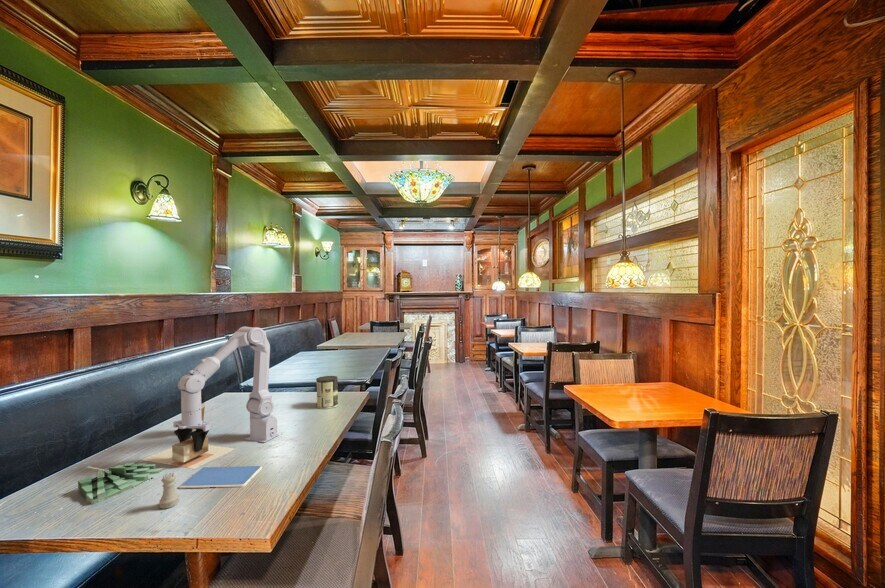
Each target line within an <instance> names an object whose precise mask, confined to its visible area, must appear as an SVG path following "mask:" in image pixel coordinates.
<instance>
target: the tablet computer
mask: <svg viewBox="0 0 885 588" xmlns="http://www.w3.org/2000/svg"><path fill="white" fill-rule="evenodd" d="M262 469H263V466H261V465H251V466H250V465H244V466H240V465H239V466H238V465H237V466H204V467H202V468H200V469H199V470H197V472H195V473H194V474H192V475H191V476H190V477H188V478H187V479H186V480H185V481H183V482H182V483H181V484H180V485H178V489H200V488H201V489H207V488H208V489H209V488H210V487H216V488H244V487H246V486H247V485H248V483H250V482H251V481H252V480H253V478H255V477H256V475H257V474H259V472H260V471H261V470H262ZM210 489H211V488H210Z"/></svg>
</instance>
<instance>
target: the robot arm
mask: <svg viewBox="0 0 885 588" xmlns="http://www.w3.org/2000/svg"><path fill="white" fill-rule="evenodd" d="M245 346H249V348H251V349H252V350H253V351H254V361H253V375H252V376H253V377H252V378H253V379H252V391H251V392H250V393H249V395H248V400H247V402H246V404H245V408H246V410H247V412H248V413H249V435H250V436H248V437H246V438H244V440H246V441H253V442H258V443H267V442H269V441H270V440H273V439H274V438H276V437H278V436H279V435H280V434H279V433H278V420H277V417H276V416H273V415H272V412H273V410H274V402H273V395H272V393H270V392H271V391H269V378H270V377H269V375H270V359H271V358H270V355H271V345H270V342H269V339H268V338H267V332H266V331H265V330H264V329H262V328H261V327H258V326H257V327H254V326H253V327H251V326H241V327H239V328H238V330H236V331H235V332H233V333H232V335H231V337H230V338H229V339H228V340H227V341H226V342H225V343H224V344H223V345H222V346H221V347H220V348H219V349H218V350H217V351H216V352H215V353H214V354H213V355H212V356H206V357H205V358H202V359H200V360H199V361H200V363H199V364H198V365H197V366H195V367H194V368H193V369H190V370H189V371H188V374H184V375H183V376H182V377H180V378H179V381H178V383H177V388H178V389H179V390H180V396H181V397H180V408H181V409H180V410H181V419H178V420H175V421H173V423H172V424H173V428H177V429H175V430H174V431H173V433H174V434H175V436H176V437H177V439H178V440H179V443H180V442H182V441H184V440H187V439H189V438H192V439H193V442H194V450H195V452H198V451H200V450H202V447H203V443H204V440H205V437H207V435H208V433H209V431H210V430H211V428H212V427H211V425H212V424H211V423H210V422H209V423H208V422H205V420H203V421H202V409H201V395H202V390H203V389H204V387H205V384H206V382H207V380H208V379H210V378H211V377H212V376H213V375H214V374H215V373H216V372H217V371H218V370H219V369H220V367H221V362H223V361H224V360H225V359H226V358H227V357H228V356H229V355H231V354H232V353H233V352H234V351H235V350H237V349H238V348H240V347H241V348H242V347H245ZM193 429H196V431H193V432H192V430H193Z"/></svg>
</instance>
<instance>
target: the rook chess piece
mask: <svg viewBox="0 0 885 588" xmlns="http://www.w3.org/2000/svg"><path fill="white" fill-rule="evenodd" d="M176 478H177V476H176V475H175V473H174V472H173V473H172V472H170V473H169V474H168V473H166V474H165V475H163V476H162V479H161V483H163V484H162V488H163V489H162V490H163V491H162V496H161V497H160V499H159V501H158V502H159V505H158V507H159V508H160V509H162V510H165V509H170V508H173V507H175V506H176V505H177V504H178V503H179V502H180V499H179V497H180V496H179V495H178V493H177V492H176V489H175V484H176V482H175V480H176Z"/></svg>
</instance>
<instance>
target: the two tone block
mask: <svg viewBox="0 0 885 588" xmlns="http://www.w3.org/2000/svg"><path fill="white" fill-rule="evenodd" d="M208 445H209V436H206V437H205V440H204V443H203V447H202V450H200V451H198V452H195V450H194V442H193V439H192V437H191V438H189V439H187V440H184V441H182V442H180V441H179V442H177V443H175V444H173V445H171V448H172V461H178V462H186V461H188V460H190V459H192V458H195V457H197V456H199V455H201V454H203V453H205V452H207V451H208Z"/></svg>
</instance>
